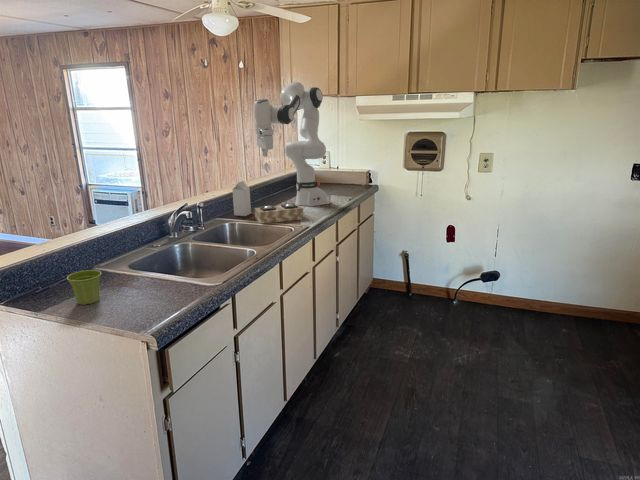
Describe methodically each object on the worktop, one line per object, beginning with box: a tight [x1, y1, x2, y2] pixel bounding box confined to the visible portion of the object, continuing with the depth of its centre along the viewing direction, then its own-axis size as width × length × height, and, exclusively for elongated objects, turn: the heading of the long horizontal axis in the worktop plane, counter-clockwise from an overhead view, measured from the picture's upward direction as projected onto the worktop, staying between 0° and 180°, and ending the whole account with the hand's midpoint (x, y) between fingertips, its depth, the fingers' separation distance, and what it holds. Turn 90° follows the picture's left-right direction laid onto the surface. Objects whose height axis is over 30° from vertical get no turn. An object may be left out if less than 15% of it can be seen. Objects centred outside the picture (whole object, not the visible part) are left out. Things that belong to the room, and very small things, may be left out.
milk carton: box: [231, 180, 252, 217], centre depth 248 cm, size 7×7×19 cm
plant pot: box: [66, 269, 102, 306], centre depth 135 cm, size 9×9×9 cm
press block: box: [253, 203, 305, 224], centre depth 238 cm, size 24×12×7 cm, turn 112°
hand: (265, 156), depth 242 cm, fingers closed
